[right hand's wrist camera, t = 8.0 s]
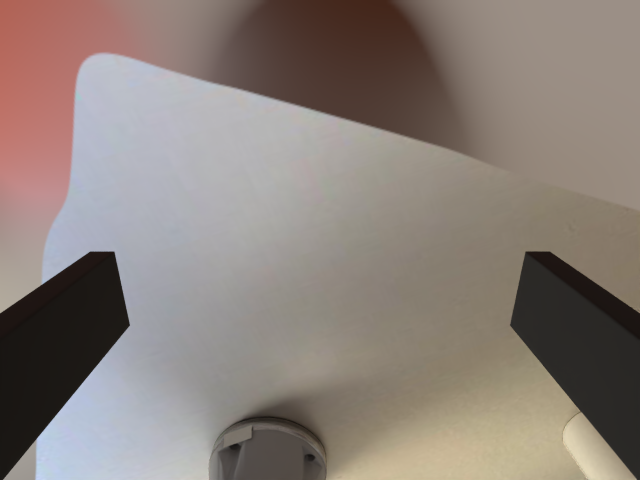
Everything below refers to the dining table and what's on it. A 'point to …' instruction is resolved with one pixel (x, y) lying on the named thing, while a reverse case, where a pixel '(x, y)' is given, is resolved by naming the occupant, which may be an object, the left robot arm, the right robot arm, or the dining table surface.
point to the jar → (593, 452)
